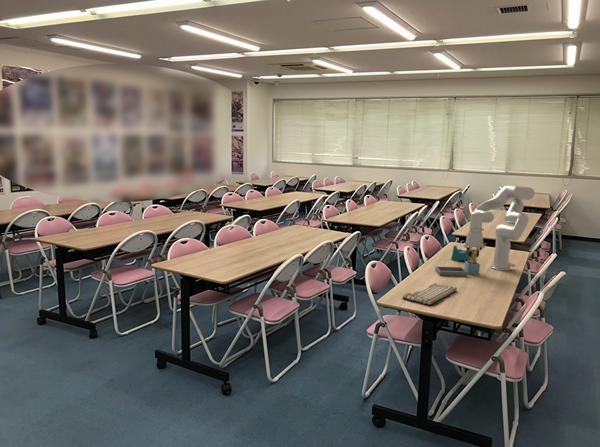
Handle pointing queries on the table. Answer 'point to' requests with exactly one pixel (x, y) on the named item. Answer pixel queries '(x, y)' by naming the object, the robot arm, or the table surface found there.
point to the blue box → (472, 267)
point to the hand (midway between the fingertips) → (473, 256)
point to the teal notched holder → (459, 254)
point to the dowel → (473, 256)
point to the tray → (451, 271)
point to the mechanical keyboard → (430, 295)
